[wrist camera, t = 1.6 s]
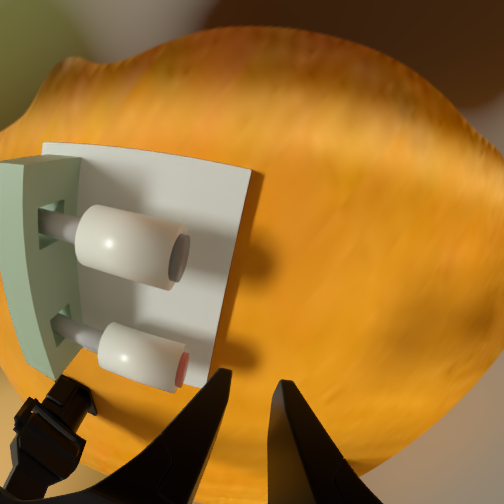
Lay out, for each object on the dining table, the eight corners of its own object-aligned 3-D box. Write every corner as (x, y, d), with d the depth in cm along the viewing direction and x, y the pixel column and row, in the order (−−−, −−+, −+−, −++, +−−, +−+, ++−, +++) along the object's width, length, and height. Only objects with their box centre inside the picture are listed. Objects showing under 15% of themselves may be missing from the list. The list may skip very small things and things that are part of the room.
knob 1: (51, 236, 18) (19, 252, 14) (51, 188, 16) (16, 198, 13) (187, 275, 18) (168, 305, 14) (196, 217, 17) (176, 236, 13)
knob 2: (69, 327, 21) (46, 350, 17) (63, 291, 19) (37, 314, 16) (188, 370, 21) (177, 404, 17) (193, 335, 20) (179, 371, 16)
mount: (206, 383, 24) (192, 440, 18) (57, 329, 24) (23, 365, 17) (252, 169, 17) (242, 177, 11) (48, 141, 17) (-11, 147, 10)
